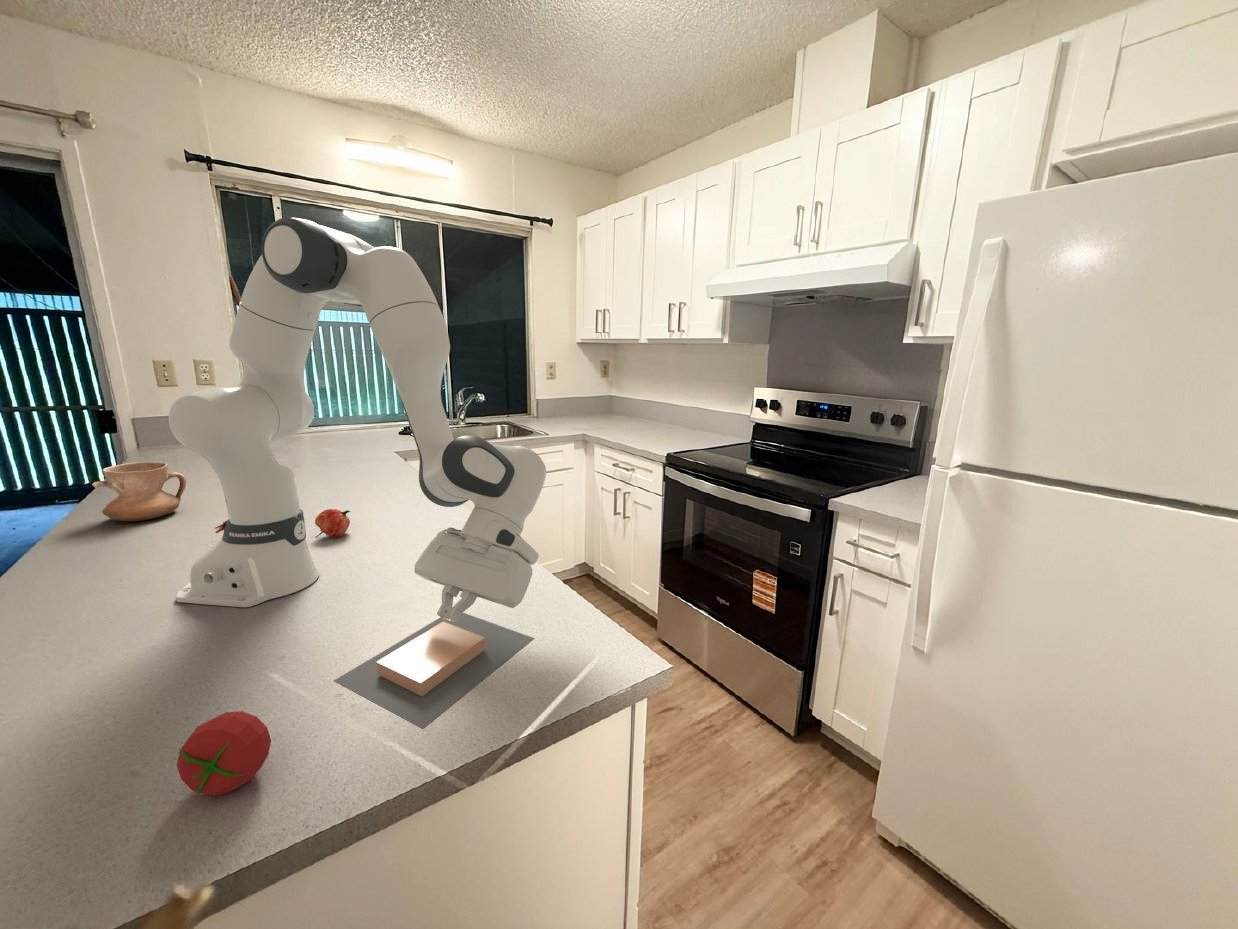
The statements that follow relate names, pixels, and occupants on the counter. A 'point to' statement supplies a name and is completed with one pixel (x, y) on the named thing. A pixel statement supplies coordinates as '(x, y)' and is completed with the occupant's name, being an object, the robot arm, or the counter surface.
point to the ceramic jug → (140, 491)
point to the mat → (449, 691)
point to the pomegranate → (332, 522)
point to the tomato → (224, 753)
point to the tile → (431, 658)
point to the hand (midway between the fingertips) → (446, 619)
